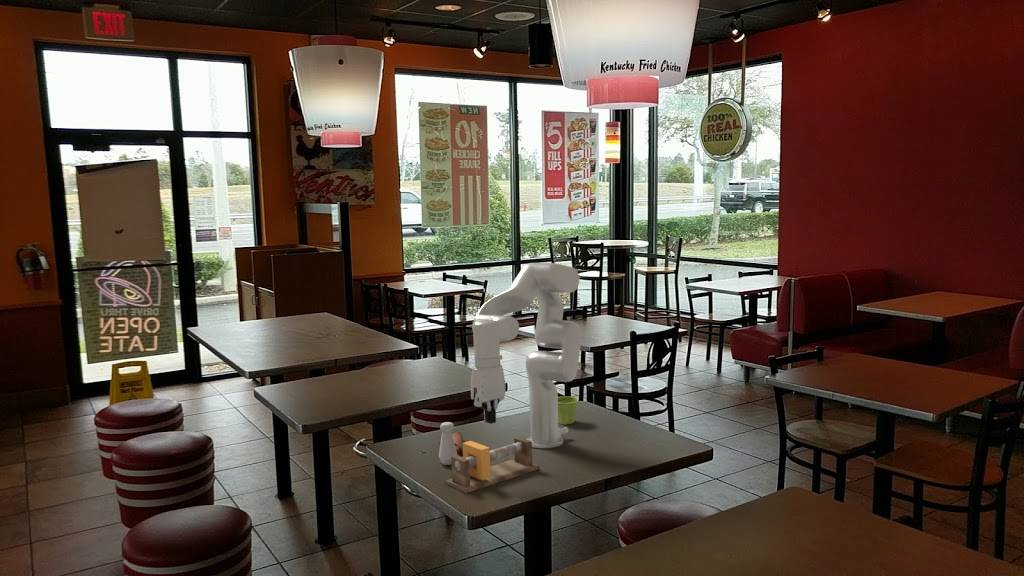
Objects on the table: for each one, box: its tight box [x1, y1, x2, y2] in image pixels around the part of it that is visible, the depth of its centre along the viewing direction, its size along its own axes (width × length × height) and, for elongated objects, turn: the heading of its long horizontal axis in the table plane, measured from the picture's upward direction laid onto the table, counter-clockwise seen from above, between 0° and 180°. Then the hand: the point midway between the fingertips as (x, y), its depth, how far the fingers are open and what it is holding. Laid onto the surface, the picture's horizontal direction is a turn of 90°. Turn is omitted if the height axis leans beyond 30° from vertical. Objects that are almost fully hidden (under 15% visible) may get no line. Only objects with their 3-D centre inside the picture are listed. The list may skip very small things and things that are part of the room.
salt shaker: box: [438, 421, 457, 466], centre depth 235 cm, size 6×6×13 cm
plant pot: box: [558, 396, 579, 426], centre depth 276 cm, size 9×9×9 cm
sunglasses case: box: [437, 431, 464, 459], centre depth 249 cm, size 18×7×7 cm, turn 6°
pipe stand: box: [445, 436, 540, 494], centre depth 223 cm, size 28×10×8 cm, turn 130°
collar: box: [463, 440, 491, 480], centre depth 218 cm, size 3×9×9 cm, turn 41°
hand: (490, 422), depth 221 cm, fingers closed
